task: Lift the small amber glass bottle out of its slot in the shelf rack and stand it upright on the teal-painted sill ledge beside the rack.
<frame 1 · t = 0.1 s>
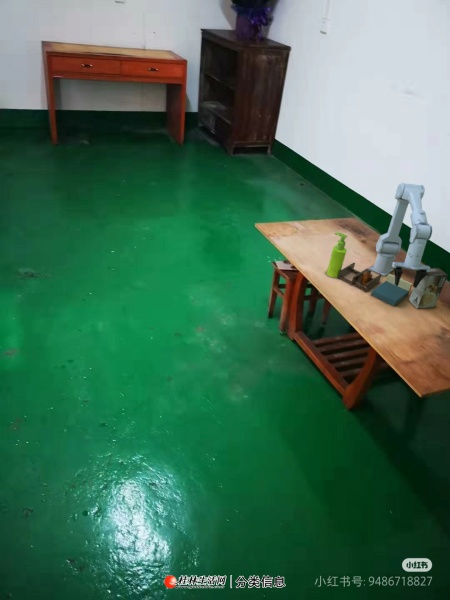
hand: (405, 285, 187), 11 cm above the table, tool pointing down, fingers open, 7 cm apart
shelf rack: (358, 280, 208), on the table
sill: (389, 295, 200), on the table
coffee box: (421, 304, 197), on the table
bottle: (365, 283, 206), resting in shelf rack
soap dispenser: (332, 274, 211), on the table
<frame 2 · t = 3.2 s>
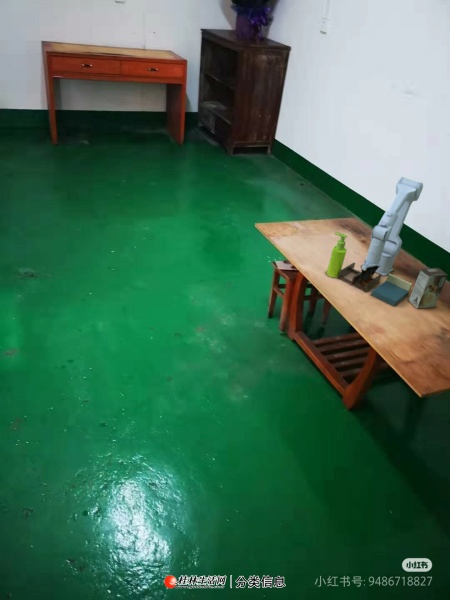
hand: (366, 279, 205), 2 cm above the table, tool pointing down, fingers closed on bottle, 4 cm apart
bottle: (365, 283, 206), resting in shelf rack, touching gripper
everything else where it was.
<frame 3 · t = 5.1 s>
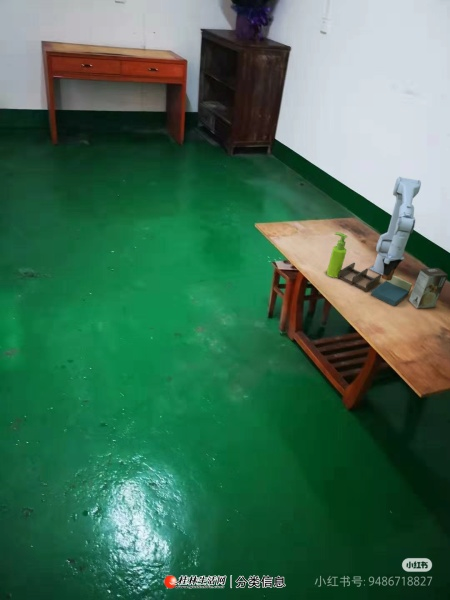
hand: (388, 273, 197), 9 cm above the table, tool pointing down, fingers closed on bottle, 4 cm apart
bottle: (386, 278, 198), point 7 cm above the table, touching gripper
everything else where it was.
when the fingers open (5 cm above the table, at t = 7.2 s): bottle stays where it is, resting on sill.
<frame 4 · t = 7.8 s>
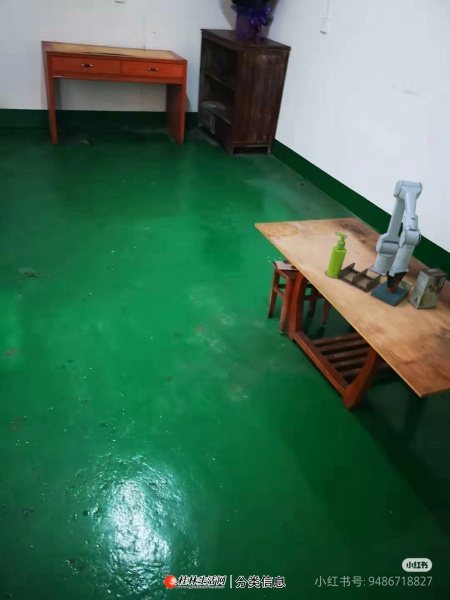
hand: (393, 284, 197), 5 cm above the table, tool pointing down, fingers open, 7 cm apart
bottle: (391, 290, 199), point 2 cm above the table, touching sill
everything else where it was.
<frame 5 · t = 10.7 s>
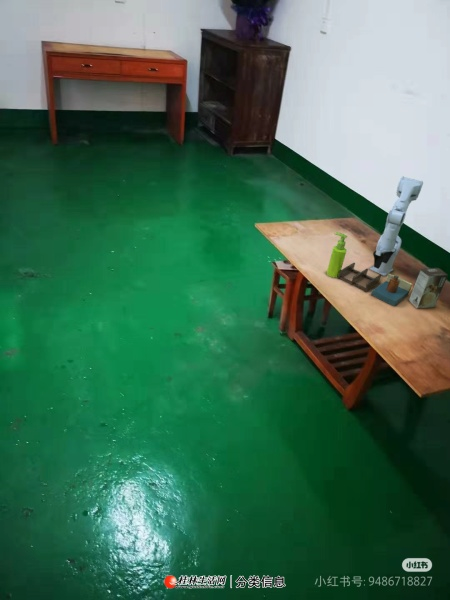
hand: (380, 265, 202), 9 cm above the table, tool pointing down, fingers open, 7 cm apart
nothing on the table moved.
at the end: bottle inside the target area on the sill (0.0 cm from its centre), point 2.5 cm above the sill's base; bottle tilted 0°; the gripper is holding nothing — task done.
